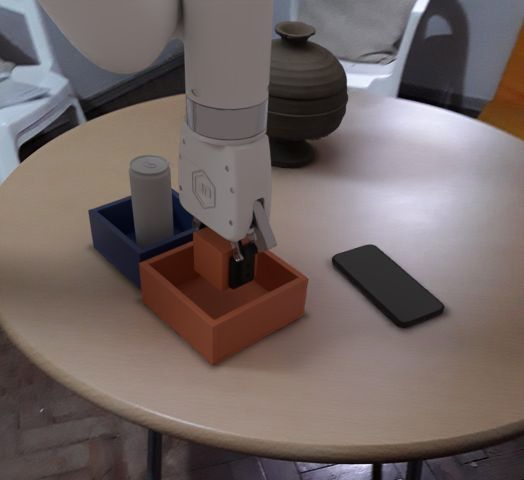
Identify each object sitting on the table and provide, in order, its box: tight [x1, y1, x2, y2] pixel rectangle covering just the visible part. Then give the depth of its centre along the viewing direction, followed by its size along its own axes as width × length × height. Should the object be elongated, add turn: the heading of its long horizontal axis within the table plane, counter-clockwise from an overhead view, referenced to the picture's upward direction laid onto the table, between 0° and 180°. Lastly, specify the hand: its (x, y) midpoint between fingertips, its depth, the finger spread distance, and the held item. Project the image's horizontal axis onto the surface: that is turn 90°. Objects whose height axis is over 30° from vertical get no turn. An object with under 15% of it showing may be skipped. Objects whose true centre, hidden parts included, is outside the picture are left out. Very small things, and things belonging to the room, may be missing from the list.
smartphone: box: [331, 243, 445, 328], centre depth 79 cm, size 7×1×15 cm
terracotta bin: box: [139, 241, 309, 366], centre depth 73 cm, size 14×14×6 cm
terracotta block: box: [193, 227, 257, 292], centre depth 69 cm, size 5×5×5 cm
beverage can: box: [128, 154, 174, 249], centre depth 77 cm, size 5×5×12 cm
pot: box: [265, 20, 349, 169], centre depth 97 cm, size 18×18×20 cm
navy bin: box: [87, 187, 196, 292], centre depth 80 cm, size 12×12×6 cm
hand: (225, 269), depth 71 cm, fingers closed on terracotta block, 5 cm apart
